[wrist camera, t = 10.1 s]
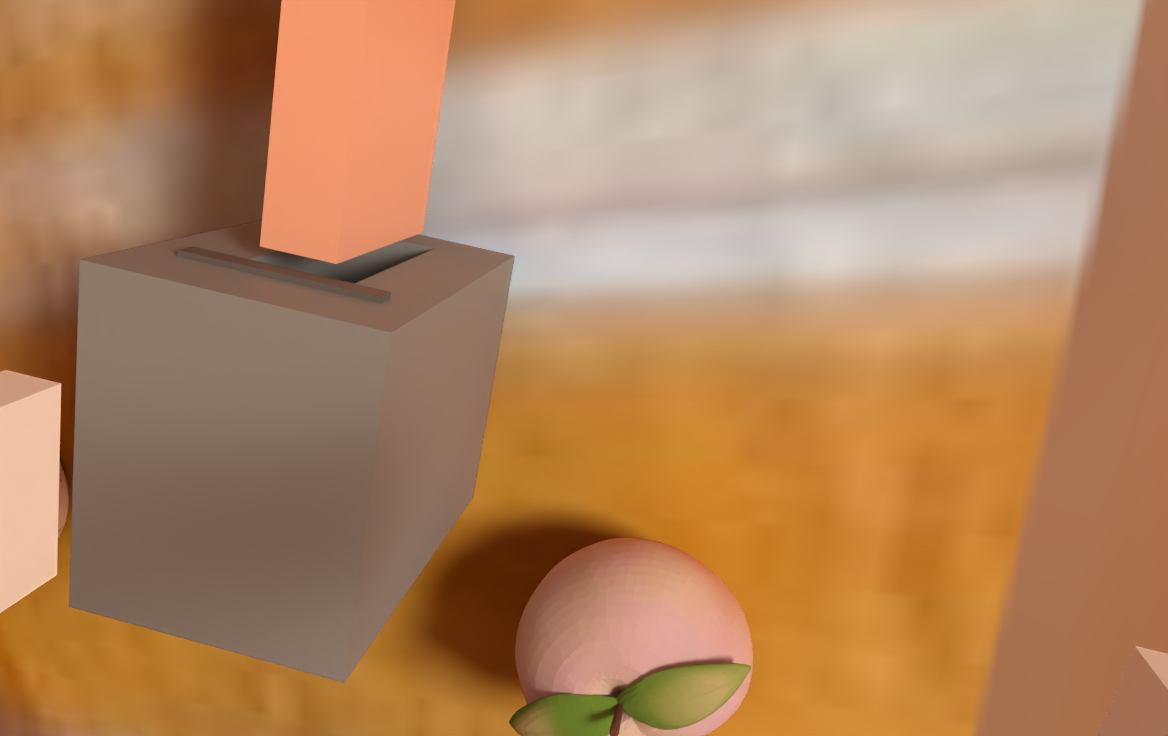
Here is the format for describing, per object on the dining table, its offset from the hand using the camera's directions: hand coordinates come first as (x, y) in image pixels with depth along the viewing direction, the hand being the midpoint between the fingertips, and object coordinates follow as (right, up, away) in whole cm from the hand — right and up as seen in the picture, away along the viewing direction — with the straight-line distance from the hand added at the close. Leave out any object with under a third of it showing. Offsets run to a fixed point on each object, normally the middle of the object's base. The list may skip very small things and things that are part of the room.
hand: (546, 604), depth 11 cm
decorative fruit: (+3, -7, +30) cm, 30 cm away
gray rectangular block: (-8, +3, +28) cm, 30 cm away
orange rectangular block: (-5, +16, +22) cm, 28 cm away
